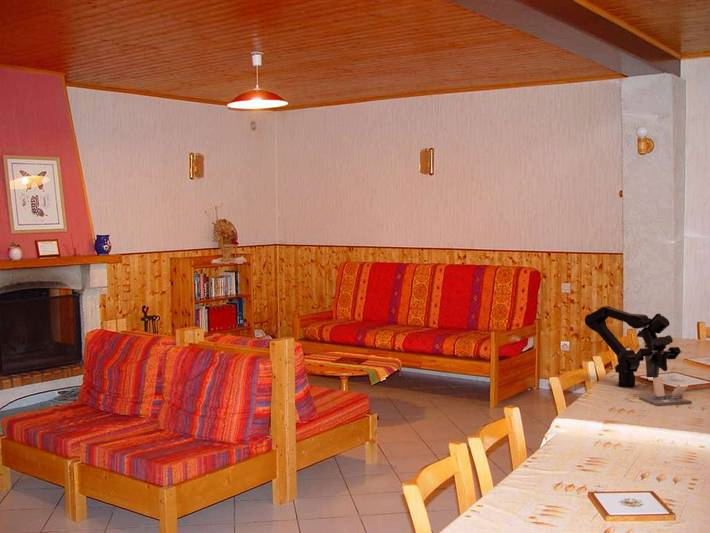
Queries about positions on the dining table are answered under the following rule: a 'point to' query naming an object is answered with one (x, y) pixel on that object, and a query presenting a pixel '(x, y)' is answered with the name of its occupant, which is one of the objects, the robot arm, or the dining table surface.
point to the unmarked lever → (658, 387)
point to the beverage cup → (651, 368)
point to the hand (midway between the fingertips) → (665, 370)
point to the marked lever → (679, 390)
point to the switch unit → (665, 400)
